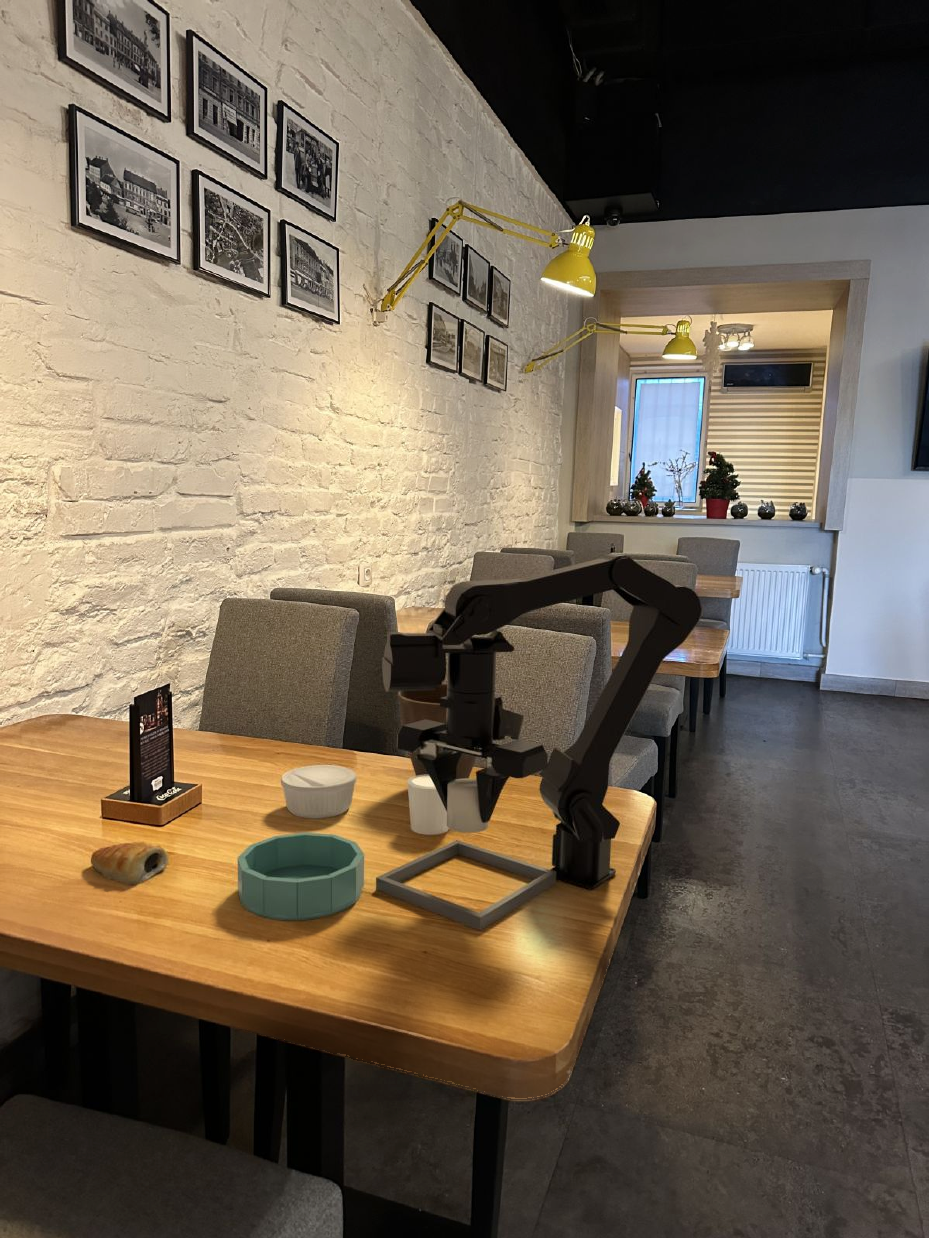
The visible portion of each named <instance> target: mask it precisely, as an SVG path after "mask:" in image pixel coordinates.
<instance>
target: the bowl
mask: <svg viewBox="0 0 929 1238" xmlns="http://www.w3.org/2000/svg"><path fill="white" fill-rule="evenodd" d="M364 886H365V853H364V851H363V850H362V849H361V847H360V846H359V845H358V842H356V841H354V840H352V839H348V838H345V837H342V836H340V835H337V834H333V833H332V834H330V833H318V832H298V833H289V834H283V835H282V834H281V835H276V836H275V835H274V836H271V837H268V838H266V839H263V840H261V841H258V842H254V843H252V844H250V845H248V847H246V849H244V850H243V852H241V853H240V854H239V855H238V856H237V890H238V894H239V902H240V903H241V905H242V907H243V908H244V909H245V910H247V911H248V912H250V913H251V914H254V915H256V916H259V917H262V918H266V919H271V920H278V921H289V922H291V921H307V920H315V919H320V918H324V917H328V916H332V915H335V914H338V913H340V912H342V911H345V910H346V909H348V908H350V907H352V906H353V905H354V904H355V903H357V901H358V900H359V899H360V898H361V895H362V891H363V888H364Z"/></svg>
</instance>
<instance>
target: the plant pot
mask: <svg viewBox="0 0 929 1238" xmlns="http://www.w3.org/2000/svg"><path fill="white" fill-rule="evenodd" d="M446 696H447V683H442V685H437V687H436V689H435V690H425V691H398V699H399V709H400V714H401V715H400V716H401V721H402V723H401V724H402V726H403V725H406V724H410V723H414V722H418V721H421V720H425V719H426V720H431V721H436V722H440V723H445V724H446V713H447V708H445V707H440V698H442V697H446ZM477 749H480V748H477ZM420 753H421V747H420V748H419V749H418V750H417V751H416V752H409V751H408V755H409V757H410V758H409V759H410V761H411V766H412V768H413V771H414V774H415V776H417V775H424V774H428V773H427V771H426V769H425V767H424V766H423V764H422V762H421V761H419V760H417V758H416V755H418V754H420ZM476 759H477V756H473V755H468V754H464V753H462V755H461V757H460V760H459V762H458V764H457V777H456V779H465V778H469V779H470V776H471V773H472V772H473V767H474V765H475V763H476Z"/></svg>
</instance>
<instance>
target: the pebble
mask: <svg viewBox="0 0 929 1238" xmlns="http://www.w3.org/2000/svg"><path fill="white" fill-rule="evenodd" d="M447 827H448V828H449V830H451V831H454V832H458V833H463V834H473V833H474V834H475V833H480V832H483V831H486V830H487V829H488V828H489V821H488V822H486V823H483V822H482V820H481V816H480V810H479V800H478V789H477V779H476V778H470V777H469V778H465V779H456V780H452V781H450V782H449V783H448V791H447Z"/></svg>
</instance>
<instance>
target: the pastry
mask: <svg viewBox="0 0 929 1238" xmlns="http://www.w3.org/2000/svg"><path fill="white" fill-rule="evenodd" d="M90 864H91V865H92V866H93V868H94V869H95V870H96V872H97V871H98V872H99V873H101V874H102V875H103V876H104V878H106V879H112V880H114V881H117V882H121V883H124V884H127V885H128V884H131V885H138V884H141V883H144V882H146V881H148V880H150V879H151V878H152V877H154V875H156V874H158V873H160V872H161V871H163V870H165V869H166V868H167V866H168V864H169V854H168V852H167V851H166V849H165V848H164V847H162V846H161V845H160V844H158V845H157V846H156V845H153V844H150V843H146V842H144V841H133V842H124V843H120V844H112V845H111V846H105V847H101V848H99V849H97V850H95V851H94V852H93V853H92V854H91V858H90Z"/></svg>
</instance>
